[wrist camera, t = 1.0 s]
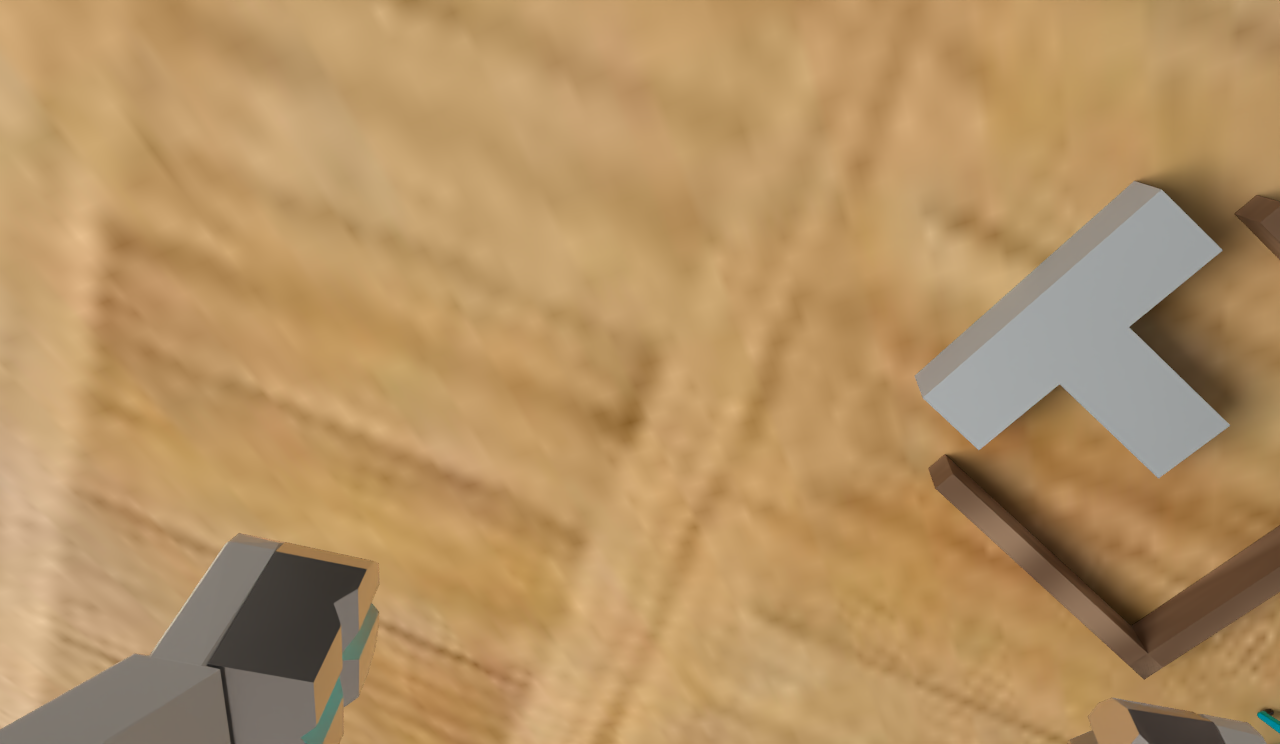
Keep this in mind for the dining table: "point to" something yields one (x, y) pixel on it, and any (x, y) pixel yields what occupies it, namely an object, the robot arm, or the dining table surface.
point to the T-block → (1087, 337)
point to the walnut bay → (1182, 618)
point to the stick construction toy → (1269, 719)
